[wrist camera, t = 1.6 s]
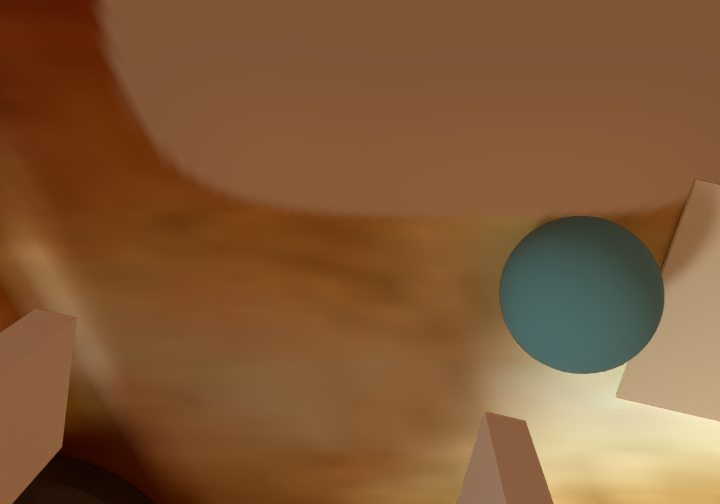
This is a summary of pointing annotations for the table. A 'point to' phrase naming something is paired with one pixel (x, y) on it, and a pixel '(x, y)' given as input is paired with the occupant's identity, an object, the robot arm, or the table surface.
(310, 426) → the table surface
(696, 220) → the beige square tile
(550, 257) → the ball
